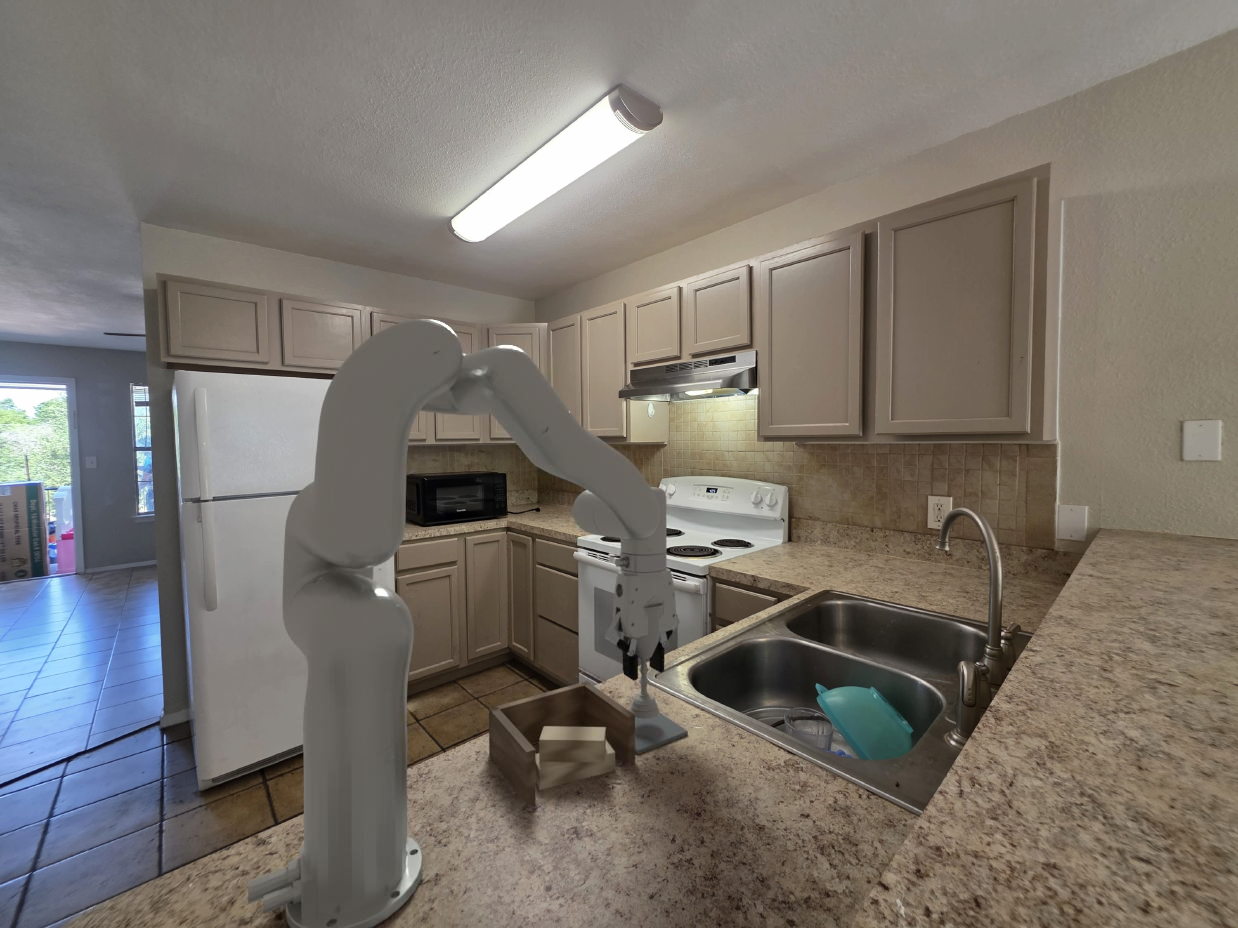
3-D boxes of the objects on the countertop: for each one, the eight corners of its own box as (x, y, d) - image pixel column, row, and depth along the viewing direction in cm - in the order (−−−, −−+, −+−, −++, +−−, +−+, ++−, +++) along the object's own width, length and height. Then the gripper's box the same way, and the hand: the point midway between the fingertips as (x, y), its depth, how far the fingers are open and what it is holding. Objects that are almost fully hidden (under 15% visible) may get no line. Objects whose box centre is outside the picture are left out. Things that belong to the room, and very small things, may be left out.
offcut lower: (539, 792, 68) (539, 770, 68) (532, 775, 72) (532, 754, 72) (615, 772, 73) (615, 751, 73) (605, 757, 76) (605, 738, 76)
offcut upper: (539, 761, 70) (539, 739, 70) (543, 746, 74) (543, 726, 74) (604, 762, 70) (604, 740, 70) (605, 747, 74) (605, 727, 74)
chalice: (671, 719, 81) (670, 605, 81) (629, 724, 79) (628, 609, 79) (657, 698, 88) (656, 594, 88) (618, 702, 86) (618, 596, 86)
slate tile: (637, 754, 76) (637, 750, 76) (602, 725, 85) (602, 722, 85) (687, 734, 82) (687, 730, 82) (650, 709, 90) (650, 706, 90)
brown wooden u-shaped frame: (526, 806, 65) (526, 752, 65) (489, 754, 77) (489, 708, 77) (635, 762, 74) (635, 714, 74) (586, 722, 86) (586, 680, 86)
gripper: (612, 572, 75) (613, 695, 76) (697, 560, 85) (698, 669, 85) (587, 564, 82) (587, 677, 82) (669, 553, 91) (669, 655, 91)
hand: (643, 672), depth 83 cm, fingers closed on chalice, 4 cm apart
